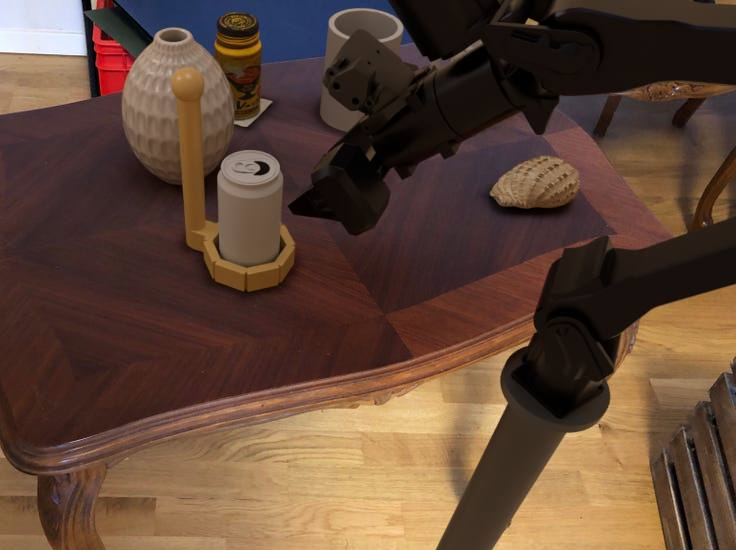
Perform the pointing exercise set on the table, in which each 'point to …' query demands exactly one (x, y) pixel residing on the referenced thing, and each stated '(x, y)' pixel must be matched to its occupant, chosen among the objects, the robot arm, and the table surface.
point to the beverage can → (249, 208)
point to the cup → (338, 33)
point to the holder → (198, 229)
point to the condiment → (241, 63)
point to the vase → (174, 105)
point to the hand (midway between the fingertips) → (311, 181)
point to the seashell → (537, 184)
